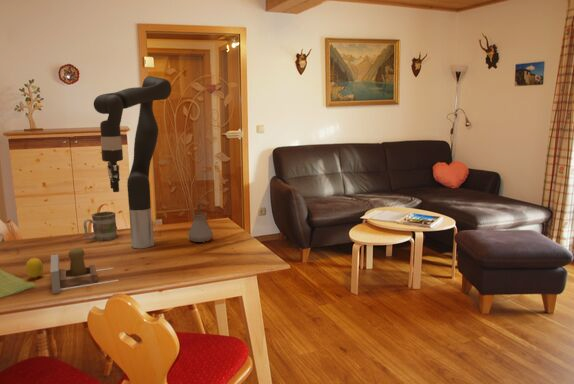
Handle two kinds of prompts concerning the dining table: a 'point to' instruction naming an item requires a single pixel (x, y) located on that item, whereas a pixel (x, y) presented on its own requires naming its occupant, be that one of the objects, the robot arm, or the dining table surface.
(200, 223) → the coffee pot
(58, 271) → the backstop
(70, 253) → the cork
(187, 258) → the dining table surface
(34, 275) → the lemon
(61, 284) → the socket block
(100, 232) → the mug
